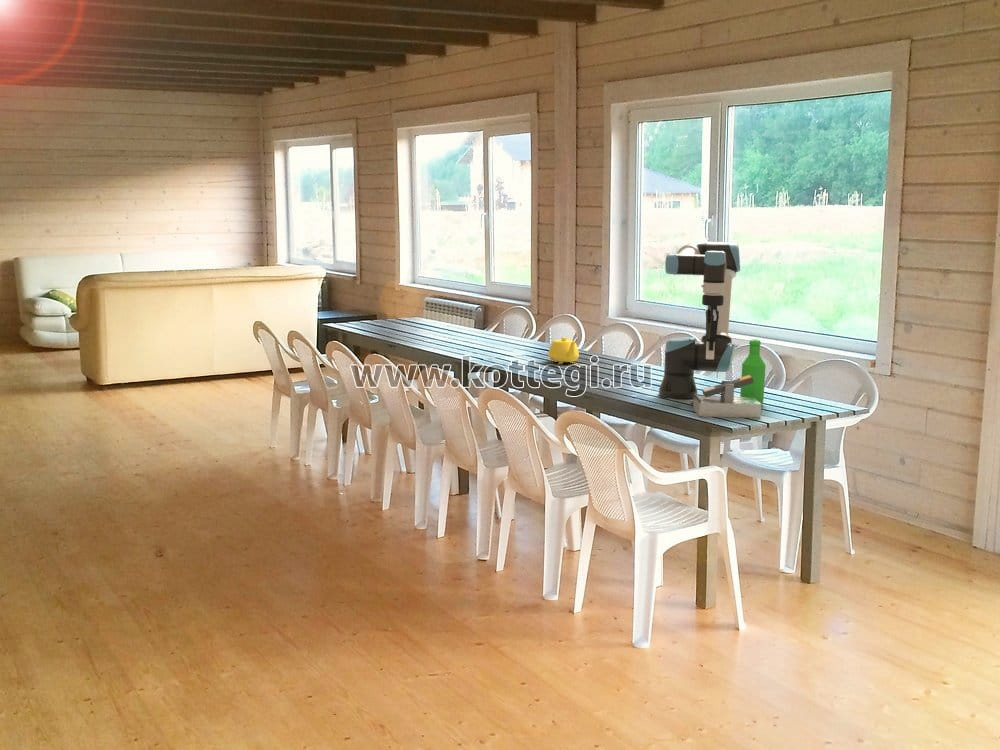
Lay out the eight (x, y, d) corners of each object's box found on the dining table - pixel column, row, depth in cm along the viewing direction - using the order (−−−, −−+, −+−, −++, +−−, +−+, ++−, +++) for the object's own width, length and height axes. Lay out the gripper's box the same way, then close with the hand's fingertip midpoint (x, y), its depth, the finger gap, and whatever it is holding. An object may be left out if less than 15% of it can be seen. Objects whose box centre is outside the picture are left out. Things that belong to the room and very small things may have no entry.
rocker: (703, 394, 373) (701, 388, 373) (750, 380, 371) (749, 374, 371) (705, 397, 367) (704, 391, 367) (754, 383, 366) (752, 377, 366)
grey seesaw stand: (693, 408, 378) (694, 378, 376) (752, 410, 378) (754, 380, 376) (699, 416, 364) (700, 385, 362) (760, 417, 364) (762, 386, 362)
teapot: (562, 367, 470) (562, 340, 468) (541, 361, 488) (542, 335, 486) (587, 365, 476) (587, 339, 474) (566, 359, 494) (566, 334, 492)
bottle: (736, 402, 392) (740, 338, 388) (758, 402, 393) (762, 338, 389) (743, 406, 384) (747, 341, 379) (766, 406, 384) (770, 341, 380)
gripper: (699, 292, 370) (696, 356, 374) (705, 295, 358) (702, 361, 362) (720, 292, 370) (717, 356, 374) (727, 296, 357) (723, 362, 361)
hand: (709, 359), depth 368 cm, fingers closed
